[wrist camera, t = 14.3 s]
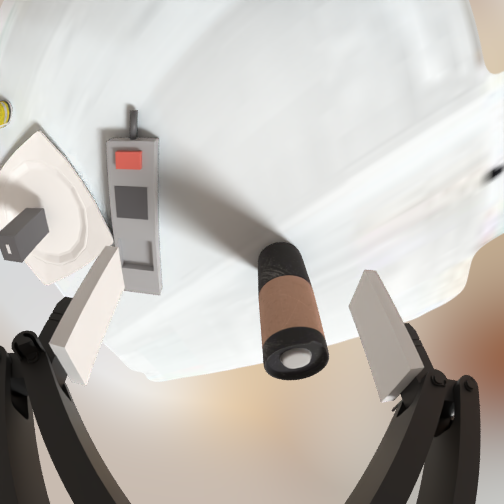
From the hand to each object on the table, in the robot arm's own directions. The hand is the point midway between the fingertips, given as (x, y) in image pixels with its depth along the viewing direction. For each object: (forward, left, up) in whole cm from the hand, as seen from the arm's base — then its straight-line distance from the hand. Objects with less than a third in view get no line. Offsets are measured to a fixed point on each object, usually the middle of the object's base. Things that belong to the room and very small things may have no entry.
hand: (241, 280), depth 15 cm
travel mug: (+17, +8, -27) cm, 33 cm away
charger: (+12, -34, -25) cm, 44 cm away
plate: (+12, -34, -28) cm, 45 cm away
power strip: (+10, -15, -27) cm, 32 cm away
